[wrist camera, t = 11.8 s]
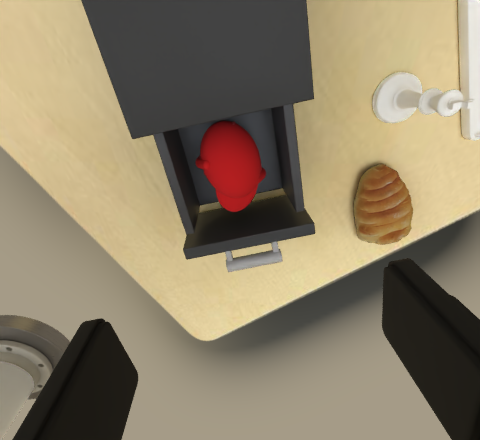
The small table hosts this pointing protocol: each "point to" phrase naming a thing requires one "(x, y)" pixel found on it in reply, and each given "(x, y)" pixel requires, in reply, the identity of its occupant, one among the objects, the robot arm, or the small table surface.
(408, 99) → the chess piece
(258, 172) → the red rounded lump
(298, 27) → the cabinet
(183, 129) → the drawer
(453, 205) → the small table surface
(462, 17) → the phone case
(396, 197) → the pastry
